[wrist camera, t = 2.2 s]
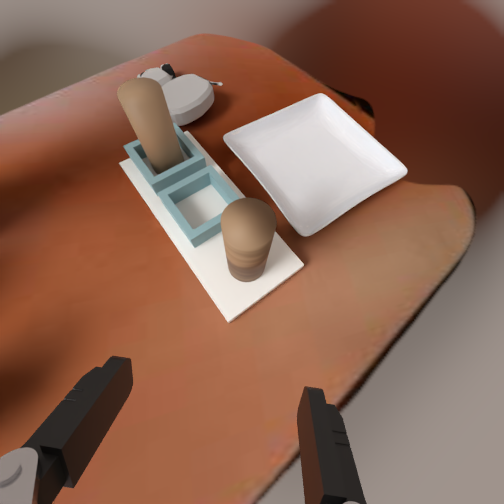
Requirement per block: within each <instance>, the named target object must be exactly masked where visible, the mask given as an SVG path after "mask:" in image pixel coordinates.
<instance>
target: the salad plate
mask: <svg viewBox="0 0 504 504" xmlns="http://www.w3.org/2000/svg"><path fill="white" fill-rule="evenodd" d="M223 140H224V142H225V143H226V144H227V145H228V147H229V148H230V149H231V150H232V151H233V152H234V154H235V155H236V156H237V157H238V158H239V159H240V160H241V161H242V162H243V163H244V165H245V166H246V167H247V168H248V169H249V170H250V172H251V173H252V174H253V175H254V176H255V178H256V179H257V180H258V181H259V182H260V184H261V185H262V186H263V187H264V189H265V190H266V191H267V192H268V194H269V195H270V196H271V198H272V199H273V201H274V202H275V203H276V205H277V206H278V208H279V209H280V211H281V212H282V213H283V215H284V216H285V217H286V219H287V220H288V222H289V223H290V224H291V225H292V227H293V228H294V229H295V230H296V231H297V232H298V234H300V235H301V236H304V237H307V236H310V235H312V234H314V233H316V232H318V231H319V230H321V229H322V228H324V227H325V226H327V225H328V224H330V223H331V222H332V221H334V220H335V219H337V218H338V217H339V216H341V215H342V214H344V213H345V212H347V211H348V210H350V209H351V208H353V207H354V206H355V205H357V204H358V203H360V202H362V201H363V200H365V199H366V198H368V197H370V196H371V195H373V194H375V193H376V192H378V191H380V190H382V189H383V188H385V187H387V186H389V185H390V184H392V183H394V182H396V181H397V180H399V179H401V178H402V177H404V176H405V175H406V174H407V171H408V170H407V168H406V167H405V166H404V165H403V164H402V163H401V162H400V161H399V160H398V159H397V158H396V157H395V156H393V155H392V154H391V153H390V152H389V151H388V150H387V149H386V148H384V147H383V146H382V145H381V144H380V143H379V142H378V141H377V140H376V139H374V138H373V137H372V136H371V135H370V134H369V133H368V132H367V131H366V130H364V129H363V128H362V127H361V126H360V125H359V124H358V123H357V122H356V121H354V120H353V119H352V118H351V117H350V116H349V115H348V114H347V113H346V112H344V111H343V110H342V109H341V108H340V107H339V106H338V105H337V104H336V103H335V102H334V101H332V100H331V99H330V98H329V97H327V96H326V95H324V94H321V93H319V94H316V95H313V96H311V97H309V98H306V99H304V100H302V101H300V102H297V103H295V104H293V105H291V106H288V107H286V108H284V109H282V110H279V111H277V112H275V113H272V114H270V115H268V116H265V117H263V118H261V119H259V120H256V121H254V122H252V123H249V124H247V125H245V126H242V127H240V128H238V129H235V130H233V131H231V132H229V133H227V134H225V135H224V136H223Z"/></svg>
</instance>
